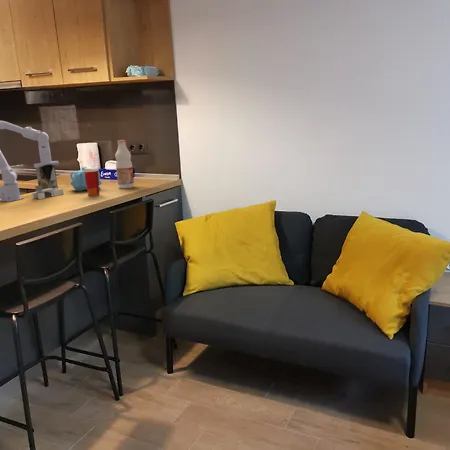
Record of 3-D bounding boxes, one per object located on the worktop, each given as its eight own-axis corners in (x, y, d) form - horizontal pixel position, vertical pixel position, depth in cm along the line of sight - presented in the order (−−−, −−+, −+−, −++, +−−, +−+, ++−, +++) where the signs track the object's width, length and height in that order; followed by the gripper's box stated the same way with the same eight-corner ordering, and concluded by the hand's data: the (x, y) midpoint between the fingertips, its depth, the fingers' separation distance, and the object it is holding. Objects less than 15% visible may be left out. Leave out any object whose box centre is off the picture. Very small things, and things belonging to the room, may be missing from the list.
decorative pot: (103, 189, 275) (101, 167, 272) (76, 193, 268) (73, 169, 265) (97, 186, 289) (94, 164, 286) (70, 189, 282) (67, 167, 279)
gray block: (45, 198, 258) (44, 193, 258) (41, 197, 261) (41, 193, 260) (51, 196, 261) (51, 192, 261) (48, 196, 264) (47, 192, 263)
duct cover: (41, 192, 255) (40, 186, 254) (35, 191, 258) (34, 185, 257) (55, 189, 262) (54, 183, 261) (49, 189, 265) (48, 183, 264)
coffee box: (58, 191, 277) (55, 164, 273) (52, 193, 271) (48, 166, 267) (45, 191, 280) (42, 164, 276) (39, 193, 274) (34, 166, 270)
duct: (39, 199, 254) (38, 193, 253) (32, 198, 257) (32, 193, 256) (63, 194, 267) (63, 188, 266) (57, 193, 270) (56, 188, 269)
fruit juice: (116, 187, 281) (111, 140, 274) (130, 185, 286) (126, 139, 279) (121, 189, 273) (116, 141, 266) (136, 187, 278) (132, 139, 271)
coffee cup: (95, 193, 264) (92, 167, 260) (104, 194, 259) (101, 167, 255) (83, 195, 258) (79, 169, 254) (91, 197, 253) (88, 169, 249)
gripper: (38, 156, 248) (41, 181, 252) (60, 153, 260) (64, 177, 263) (30, 155, 252) (33, 180, 256) (52, 153, 264) (56, 176, 267)
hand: (48, 178), depth 260 cm, fingers closed
